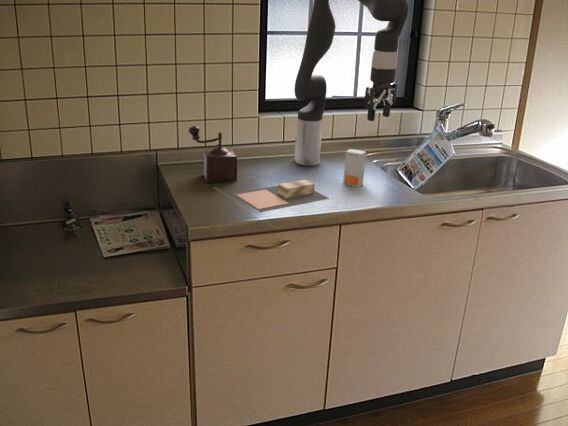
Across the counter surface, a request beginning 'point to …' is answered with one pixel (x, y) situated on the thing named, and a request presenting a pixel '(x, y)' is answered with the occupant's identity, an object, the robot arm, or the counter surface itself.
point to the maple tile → (296, 188)
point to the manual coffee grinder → (217, 160)
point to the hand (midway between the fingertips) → (378, 118)
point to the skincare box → (354, 167)
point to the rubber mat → (275, 198)
